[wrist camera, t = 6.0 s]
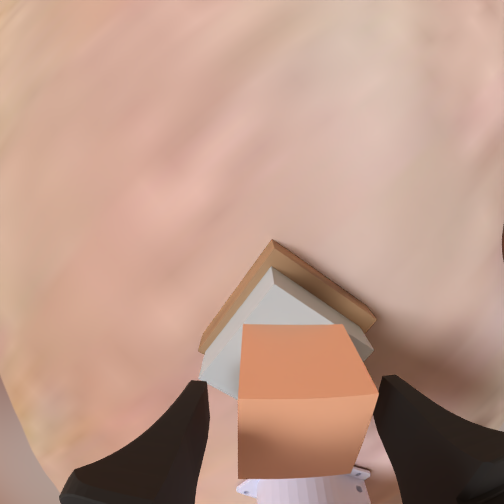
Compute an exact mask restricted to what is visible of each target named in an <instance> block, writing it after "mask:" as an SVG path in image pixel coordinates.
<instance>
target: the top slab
mask: <svg viewBox="0 0 504 504" xmlns="http://www.w3.org/2000/svg"><path fill="white" fill-rule="evenodd" d="M243 324H270V325H328V324H343V326H344V327H345V329H346V331H347V333H348V335H349V337H350V339H351V340H352V342H353V344H354V346H355V348H356V350H357V352H358V354H359V356H360V357H361V359H362V361H363V362H364V361H365V360H366V359H367V358H368V357H369V356H370V355H371V353H372V352H373V351H374V349H373V347H372V346H371V344H370V342H369V341H368V339H367V338H366V336H365V334H364V333H363V331H362V329H361V328H360V327H359V326H358V325H356V324H355V323H354V322H352V321H351V320H349V319H348V318H346V317H345V316H343V315H342V314H340V313H339V312H337V311H336V310H335V309H333V308H332V307H330V306H329V305H327V304H326V303H324V302H323V301H321V300H320V299H319V298H317V297H316V296H314V295H313V294H311V293H310V292H308V291H307V290H305V289H304V288H302V287H301V286H300V285H298V284H297V283H295V282H294V281H292V280H291V279H289V278H288V277H286V276H285V275H283V274H282V273H281V272H279V271H278V270H276V269H275V268H273V267H272V266H271V267H270V268H269V270H268V271H267V272H266V274H265V275H264V276H263V278H262V279H261V280H260V282H259V283H258V284H257V286H256V287H255V288H254V289H253V291H252V292H251V293H250V295H249V296H248V297H247V299H246V300H245V301H244V303H243V304H242V305H241V306H240V308H239V309H238V310H237V312H236V313H235V314H234V316H233V317H232V318H231V319H230V321H229V322H228V323H227V325H226V326H225V327H224V328H223V330H222V331H221V332H220V334H219V335H218V336H217V337H216V339H215V340H214V341H213V343H212V344H211V345H210V346H209V348H208V349H207V350H206V352H205V355H204V359H203V363H202V367H201V371H200V375H199V379H200V380H202V381H207V384H209V385H211V386H212V387H214V388H216V389H218V390H220V391H222V392H224V393H225V394H227V395H229V396H231V397H233V398H235V399H237V400H238V390H239V375H240V360H241V345H242V331H243Z"/></svg>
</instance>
